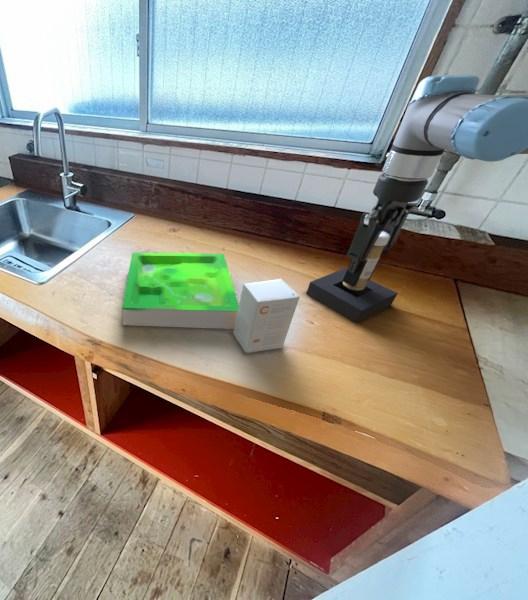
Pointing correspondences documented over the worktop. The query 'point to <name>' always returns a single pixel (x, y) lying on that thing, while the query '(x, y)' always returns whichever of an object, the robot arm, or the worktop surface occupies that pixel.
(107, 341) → the worktop surface
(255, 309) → the small box
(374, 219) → the robot arm
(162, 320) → the green board game box
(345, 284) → the sprinkles bottle
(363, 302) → the dark grey square frame
